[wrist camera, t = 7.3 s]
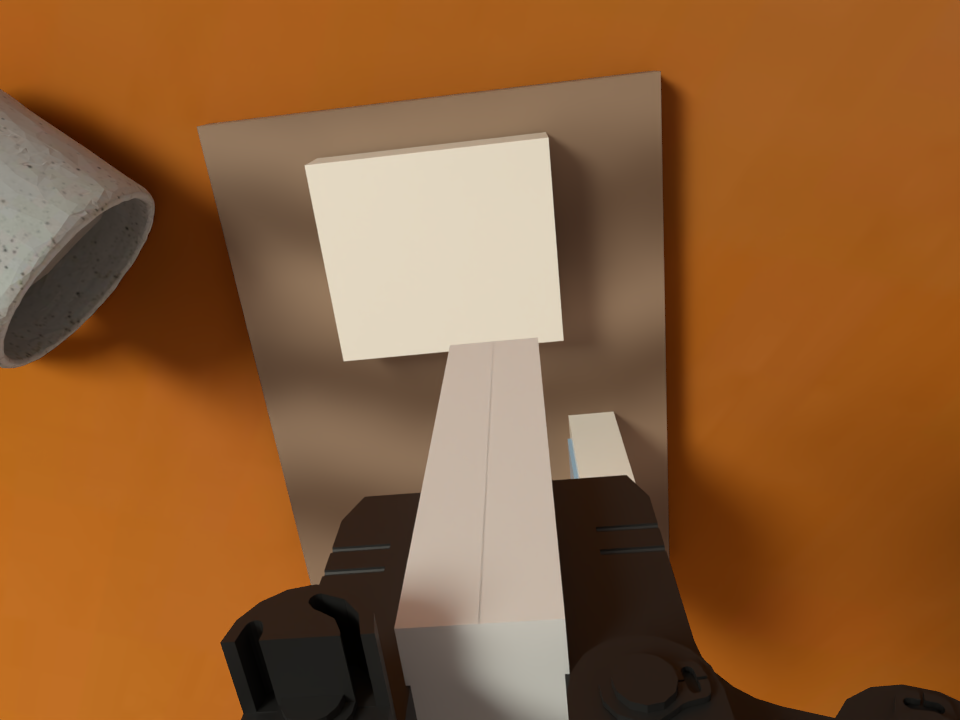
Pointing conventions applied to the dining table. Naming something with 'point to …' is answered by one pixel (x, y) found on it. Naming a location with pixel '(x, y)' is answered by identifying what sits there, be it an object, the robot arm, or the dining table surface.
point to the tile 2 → (596, 447)
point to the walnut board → (418, 378)
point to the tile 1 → (439, 245)
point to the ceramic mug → (59, 233)
